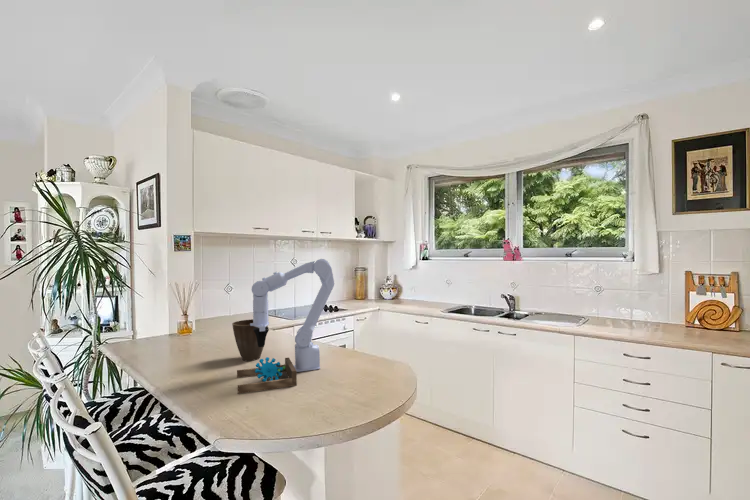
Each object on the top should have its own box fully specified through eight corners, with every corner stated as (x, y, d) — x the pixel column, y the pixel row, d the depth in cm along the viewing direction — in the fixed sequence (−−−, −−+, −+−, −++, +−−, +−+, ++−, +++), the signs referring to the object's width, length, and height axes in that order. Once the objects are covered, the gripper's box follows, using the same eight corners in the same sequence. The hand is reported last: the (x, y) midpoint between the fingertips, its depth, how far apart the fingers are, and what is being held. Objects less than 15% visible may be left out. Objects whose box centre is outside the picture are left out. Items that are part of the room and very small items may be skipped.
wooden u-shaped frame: (289, 370, 142) (288, 357, 142) (296, 385, 126) (296, 370, 126) (237, 377, 135) (236, 363, 135) (237, 393, 119) (237, 378, 119)
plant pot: (225, 362, 154) (224, 324, 155) (245, 353, 169) (244, 318, 169) (257, 364, 151) (256, 325, 151) (274, 354, 166) (274, 319, 166)
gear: (257, 382, 125) (254, 356, 131) (252, 391, 128) (249, 365, 134) (288, 380, 131) (283, 355, 137) (283, 388, 134) (278, 364, 140)
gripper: (249, 309, 148) (249, 343, 148) (250, 315, 135) (251, 352, 134) (267, 308, 151) (267, 341, 150) (270, 313, 137) (271, 350, 137)
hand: (261, 346), depth 143 cm, fingers closed
